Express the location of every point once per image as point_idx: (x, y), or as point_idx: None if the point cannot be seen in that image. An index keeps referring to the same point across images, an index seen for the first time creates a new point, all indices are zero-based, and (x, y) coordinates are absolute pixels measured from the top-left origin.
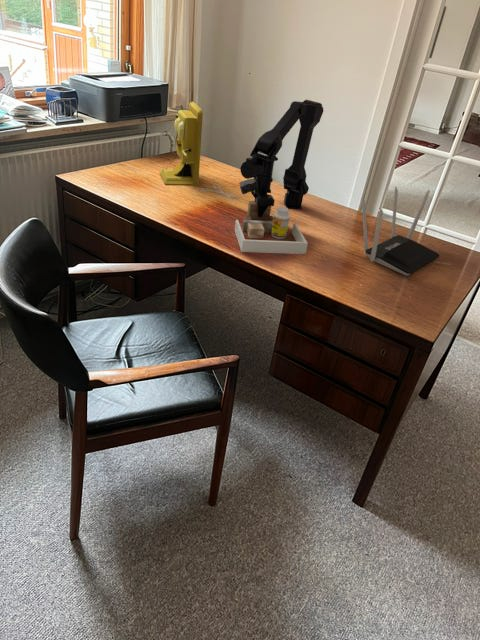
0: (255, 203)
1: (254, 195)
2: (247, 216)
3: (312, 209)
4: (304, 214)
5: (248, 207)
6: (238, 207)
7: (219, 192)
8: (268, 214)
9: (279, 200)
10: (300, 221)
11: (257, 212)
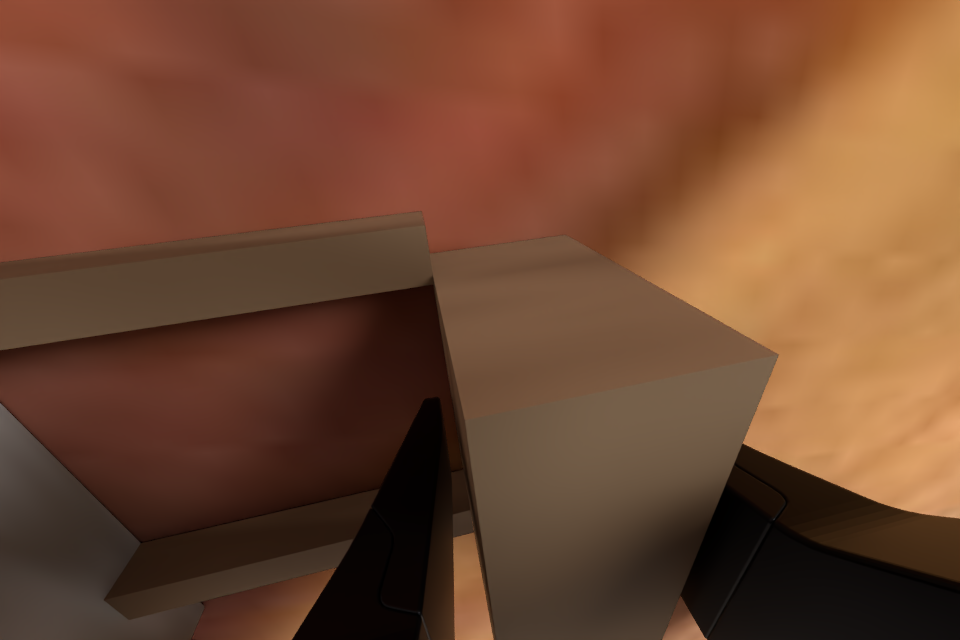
0: (542, 527)
1: (952, 635)
2: (315, 244)
3: (674, 626)
4: None
5: (594, 287)
6: (836, 105)
7: None
8: (471, 515)
9: (849, 488)
10: (478, 627)
11: (457, 422)
